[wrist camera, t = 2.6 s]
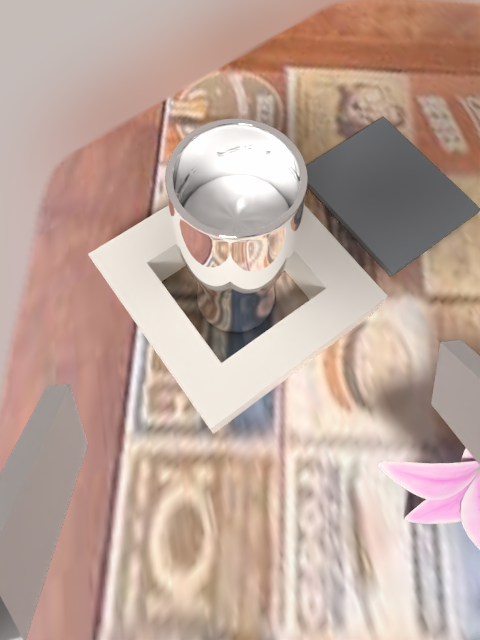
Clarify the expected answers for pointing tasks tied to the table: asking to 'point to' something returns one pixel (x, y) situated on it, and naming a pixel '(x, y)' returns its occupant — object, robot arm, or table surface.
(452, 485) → the lily
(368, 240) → the slate coaster
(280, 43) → the table surface
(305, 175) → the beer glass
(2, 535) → the robot arm
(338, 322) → the board
